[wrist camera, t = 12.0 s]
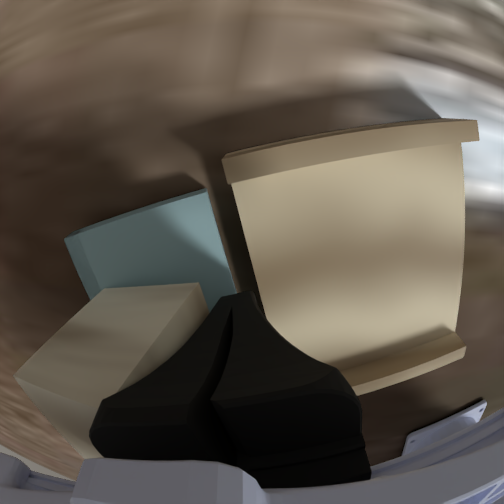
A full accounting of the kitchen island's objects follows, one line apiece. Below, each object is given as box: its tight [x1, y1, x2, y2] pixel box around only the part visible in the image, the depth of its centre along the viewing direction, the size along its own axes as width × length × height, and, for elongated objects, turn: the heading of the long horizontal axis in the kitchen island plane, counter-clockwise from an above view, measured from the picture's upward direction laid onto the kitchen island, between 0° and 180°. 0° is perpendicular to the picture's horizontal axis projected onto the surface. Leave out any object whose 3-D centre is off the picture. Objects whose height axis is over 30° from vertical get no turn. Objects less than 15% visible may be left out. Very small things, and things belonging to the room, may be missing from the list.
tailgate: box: [64, 188, 237, 312], centre depth 13 cm, size 9×1×6 cm
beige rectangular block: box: [13, 282, 210, 459], centre depth 9 cm, size 4×4×6 cm
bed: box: [221, 118, 479, 396], centre depth 12 cm, size 12×10×2 cm
